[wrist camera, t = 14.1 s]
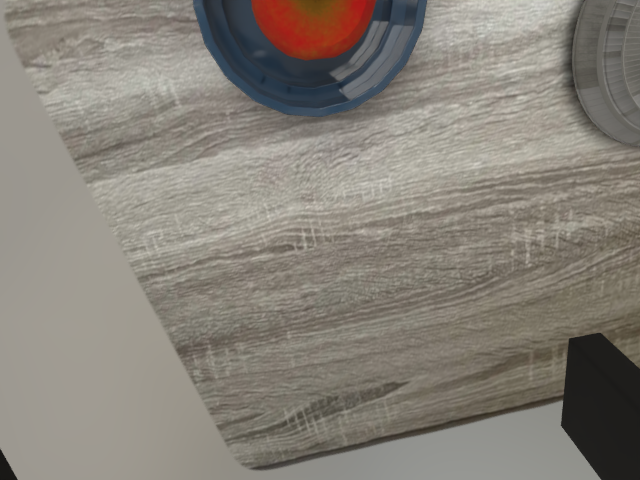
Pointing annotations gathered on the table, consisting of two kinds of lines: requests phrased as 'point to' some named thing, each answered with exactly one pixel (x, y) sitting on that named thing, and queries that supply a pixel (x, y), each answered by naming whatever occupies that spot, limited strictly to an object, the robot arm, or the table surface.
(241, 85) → the bowl
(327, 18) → the apple
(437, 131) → the table surface
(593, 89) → the flying saucer
